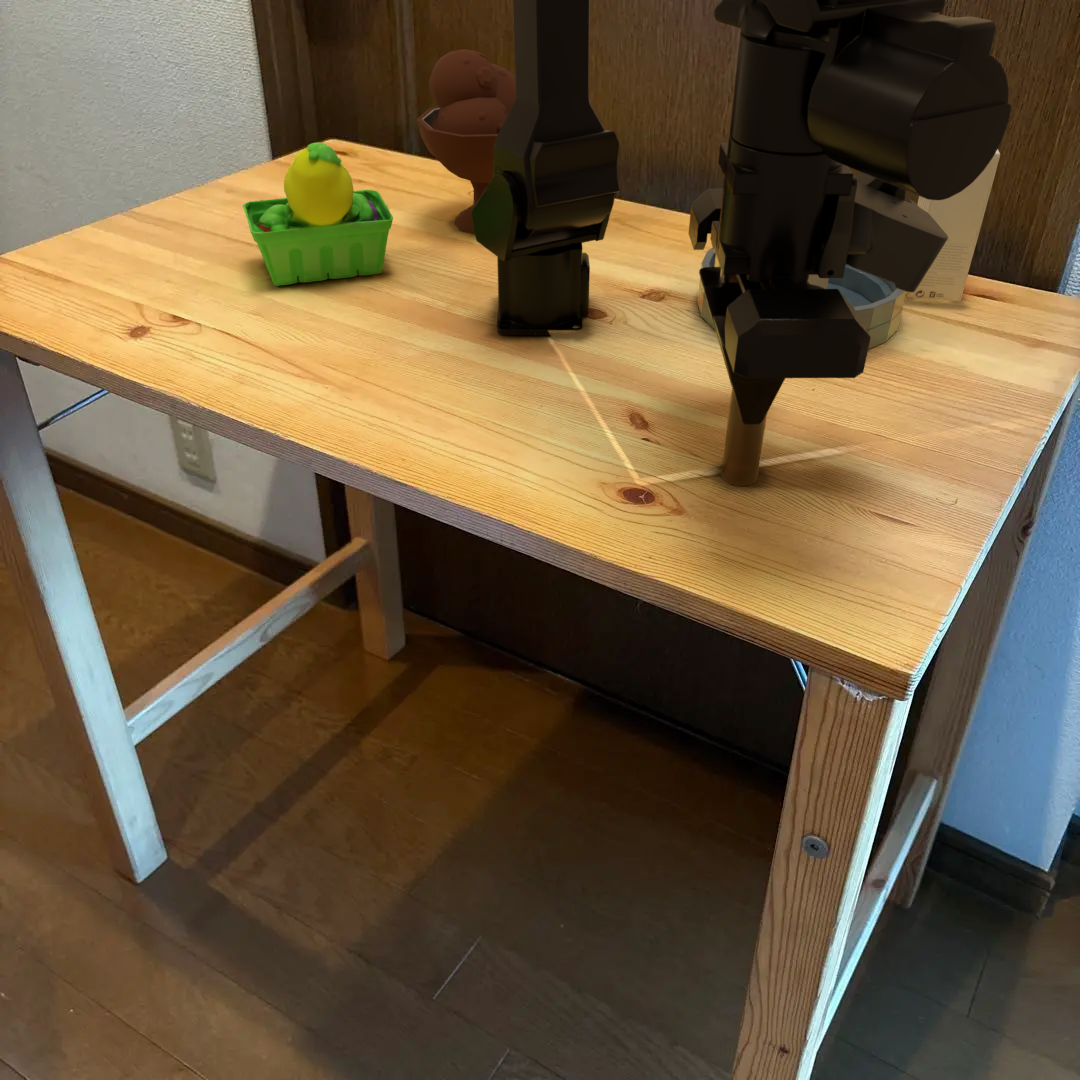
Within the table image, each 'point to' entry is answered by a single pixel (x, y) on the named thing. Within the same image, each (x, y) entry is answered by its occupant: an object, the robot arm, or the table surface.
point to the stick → (741, 448)
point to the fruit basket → (320, 223)
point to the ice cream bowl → (467, 118)
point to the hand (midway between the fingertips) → (748, 412)
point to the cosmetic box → (956, 236)
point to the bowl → (864, 292)
